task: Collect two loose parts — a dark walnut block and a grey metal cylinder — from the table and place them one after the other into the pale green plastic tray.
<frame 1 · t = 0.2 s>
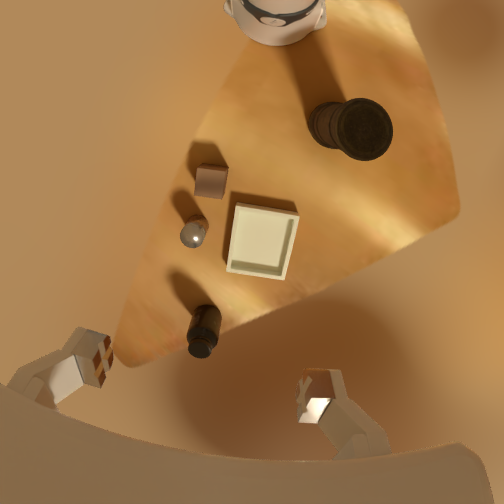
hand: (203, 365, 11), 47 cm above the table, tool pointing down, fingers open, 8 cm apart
container: (332, 125, 50), on the table
walnut block: (213, 177, 55), on the table
tray: (261, 240, 60), on the table
metal cylinder: (197, 225, 59), on the table
supplement bottle: (207, 315, 69), on the table
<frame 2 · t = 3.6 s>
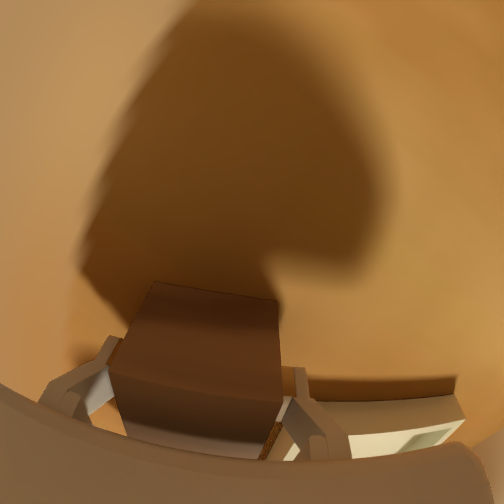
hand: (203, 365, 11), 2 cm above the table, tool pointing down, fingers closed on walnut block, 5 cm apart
walnut block: (209, 337, 13), on the table, touching gripper
tray: (345, 451, 18), on the table
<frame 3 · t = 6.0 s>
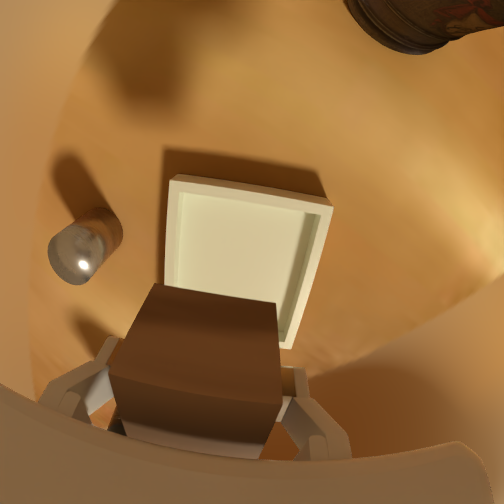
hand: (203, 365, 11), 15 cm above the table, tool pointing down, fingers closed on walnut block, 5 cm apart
container: (396, 10, 16), on the table
walnut block: (209, 338, 13), point 13 cm above the table, touching gripper
tray: (239, 263, 26), on the table
metal cylinder: (102, 230, 25), on the table
when the fingers open (3 cm above the table, at t = 8.5 s): walnut block stays where it is, resting on tray.
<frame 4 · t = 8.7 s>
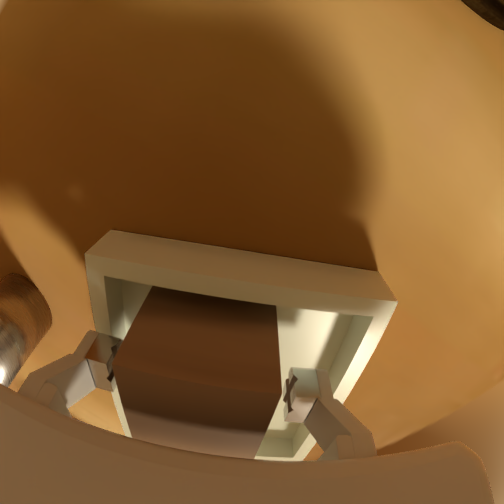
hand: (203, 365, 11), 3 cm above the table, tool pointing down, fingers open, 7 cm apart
walnut block: (210, 333, 13), point 1 cm above the table, touching tray
tray: (226, 366, 15), on the table
metal cylinder: (25, 304, 14), on the table
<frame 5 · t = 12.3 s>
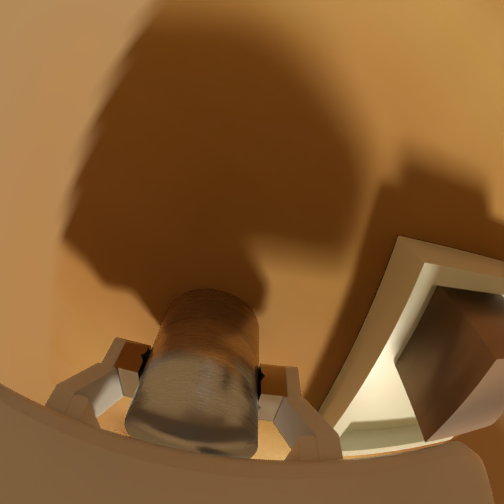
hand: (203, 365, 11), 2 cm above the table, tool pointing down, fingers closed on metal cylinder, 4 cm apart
walnut block: (450, 329, 12), point 1 cm above the table, touching tray
tray: (432, 360, 15), on the table
metal cylinder: (211, 329, 13), on the table, touching gripper
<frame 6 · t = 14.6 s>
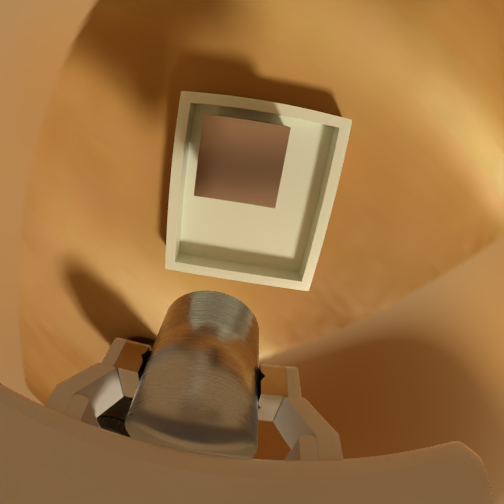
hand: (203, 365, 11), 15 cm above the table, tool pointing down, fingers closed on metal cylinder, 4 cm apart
walnut block: (244, 151, 21), point 1 cm above the table, touching tray
tray: (251, 189, 23), on the table
metal cylinder: (211, 330, 13), point 13 cm above the table, touching gripper
supplement bottle: (147, 355, 32), on the table
when the fingers open (3 cm above the table, at t = 16.9 s): metal cylinder stays where it is, resting on tray.
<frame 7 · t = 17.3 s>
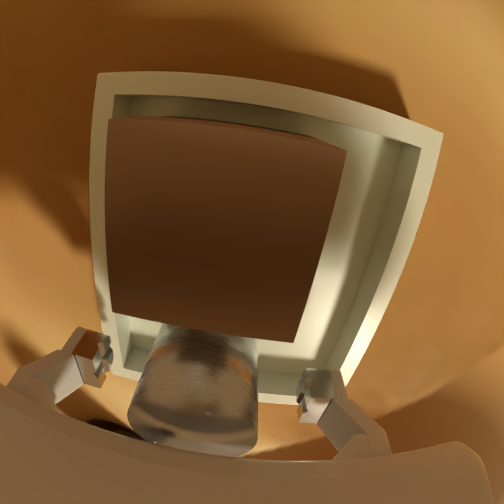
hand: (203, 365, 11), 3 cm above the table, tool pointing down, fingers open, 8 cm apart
walnut block: (229, 189, 11), point 1 cm above the table, touching tray
tray: (244, 255, 13), on the table
metal cylinder: (212, 324, 14), point 1 cm above the table, touching tray
supplement bottle: (118, 436, 22), on the table
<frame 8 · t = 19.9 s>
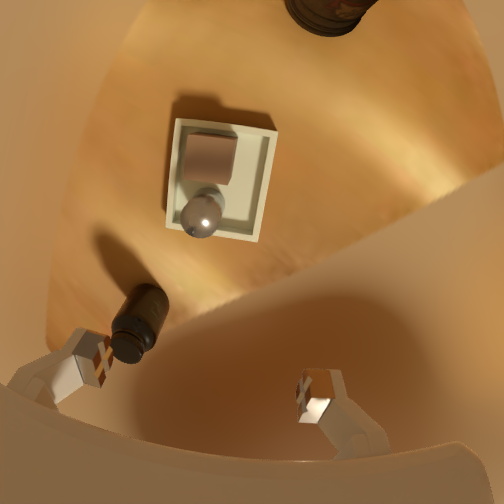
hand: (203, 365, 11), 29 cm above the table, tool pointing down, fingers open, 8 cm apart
container: (323, 9, 27), on the table
walnut block: (214, 154, 35), point 1 cm above the table, touching tray
tray: (220, 177, 37), on the table
metal cylinder: (208, 203, 38), point 1 cm above the table, touching tray
supplement bottle: (150, 300, 46), on the table
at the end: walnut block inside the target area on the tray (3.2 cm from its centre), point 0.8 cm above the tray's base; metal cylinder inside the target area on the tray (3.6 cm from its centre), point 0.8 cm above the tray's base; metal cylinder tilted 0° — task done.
